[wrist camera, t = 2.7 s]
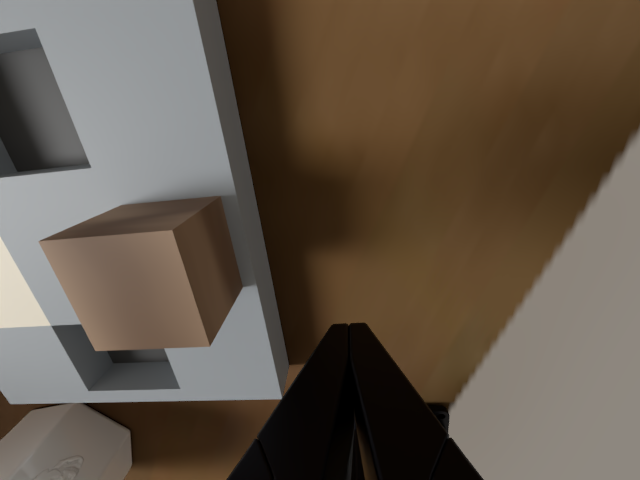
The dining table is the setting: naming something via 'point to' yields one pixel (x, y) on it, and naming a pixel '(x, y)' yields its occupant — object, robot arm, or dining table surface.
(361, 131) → the dining table surface
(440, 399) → the dining table surface
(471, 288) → the dining table surface
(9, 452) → the jar
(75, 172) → the trap deck
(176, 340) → the walnut block
